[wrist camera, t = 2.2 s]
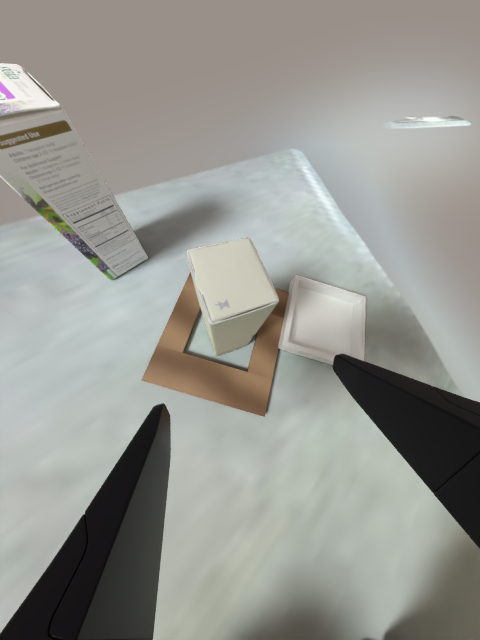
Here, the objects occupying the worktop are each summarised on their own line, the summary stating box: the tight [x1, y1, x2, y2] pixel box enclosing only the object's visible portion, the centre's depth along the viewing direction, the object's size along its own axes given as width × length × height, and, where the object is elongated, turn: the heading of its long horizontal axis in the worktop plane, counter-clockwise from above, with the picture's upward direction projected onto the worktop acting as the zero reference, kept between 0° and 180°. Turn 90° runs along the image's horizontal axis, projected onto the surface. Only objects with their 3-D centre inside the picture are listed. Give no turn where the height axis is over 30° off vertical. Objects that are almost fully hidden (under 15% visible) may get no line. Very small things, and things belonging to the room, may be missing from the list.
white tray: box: [278, 275, 366, 365], centre depth 23 cm, size 10×10×2 cm
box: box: [186, 238, 279, 356], centre depth 16 cm, size 5×4×13 cm
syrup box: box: [0, 64, 148, 280], centre depth 17 cm, size 6×6×14 cm
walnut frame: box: [142, 272, 289, 417], centre depth 21 cm, size 16×14×1 cm
